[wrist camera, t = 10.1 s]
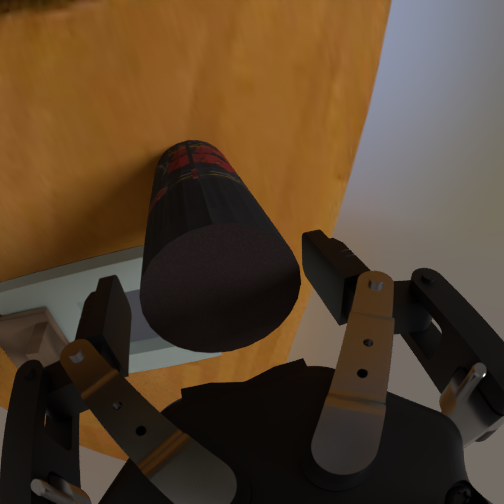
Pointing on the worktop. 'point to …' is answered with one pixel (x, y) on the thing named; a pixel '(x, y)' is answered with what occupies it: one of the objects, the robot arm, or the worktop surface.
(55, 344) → the cover
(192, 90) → the worktop surface
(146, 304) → the deodorant
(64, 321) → the socket board
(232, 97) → the worktop surface
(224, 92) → the worktop surface
